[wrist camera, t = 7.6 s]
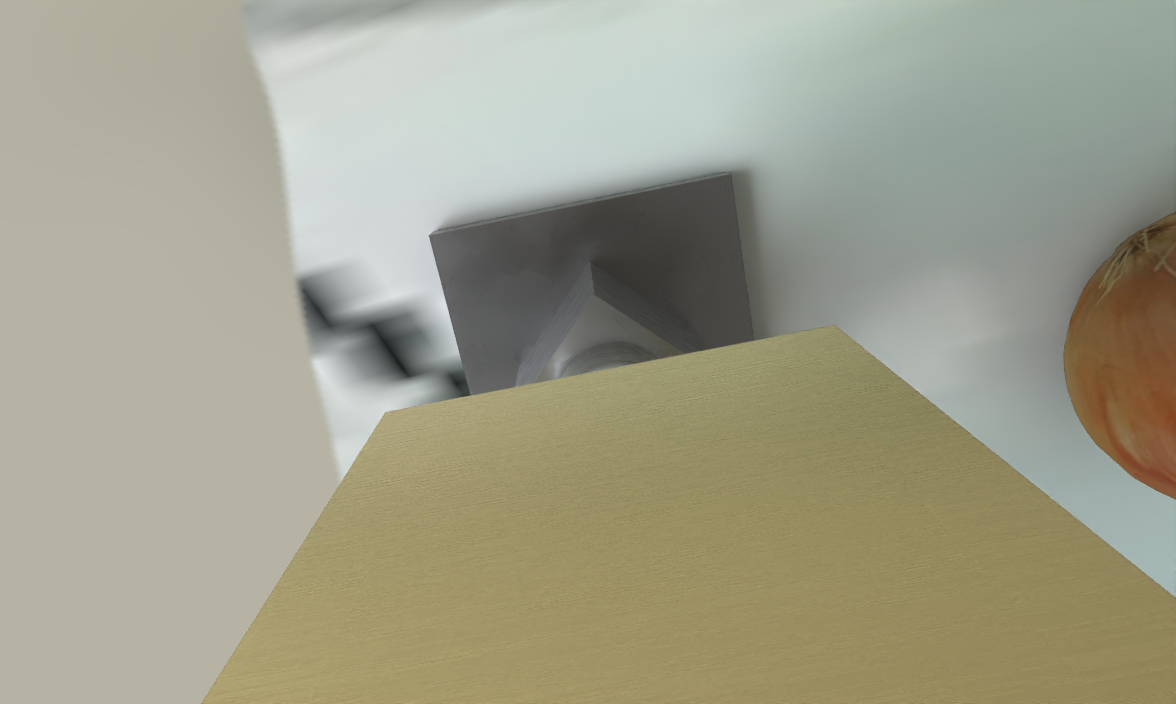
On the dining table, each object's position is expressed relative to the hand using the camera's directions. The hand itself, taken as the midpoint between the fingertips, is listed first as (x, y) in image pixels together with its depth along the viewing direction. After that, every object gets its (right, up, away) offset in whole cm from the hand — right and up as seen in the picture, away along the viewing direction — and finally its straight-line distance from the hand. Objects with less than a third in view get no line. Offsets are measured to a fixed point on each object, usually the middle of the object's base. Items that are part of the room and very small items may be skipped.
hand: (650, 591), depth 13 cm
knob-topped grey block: (0, +4, +14) cm, 15 cm away
